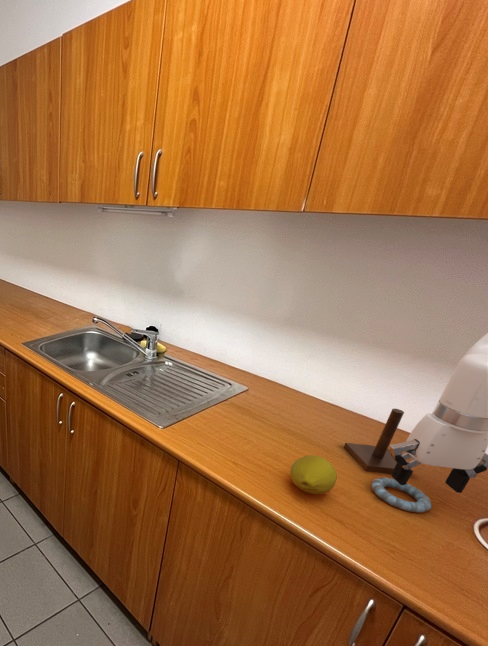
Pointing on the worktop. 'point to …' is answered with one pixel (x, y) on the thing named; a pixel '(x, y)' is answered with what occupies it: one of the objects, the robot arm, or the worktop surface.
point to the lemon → (313, 474)
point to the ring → (419, 506)
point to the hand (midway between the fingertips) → (424, 484)
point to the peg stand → (378, 448)
